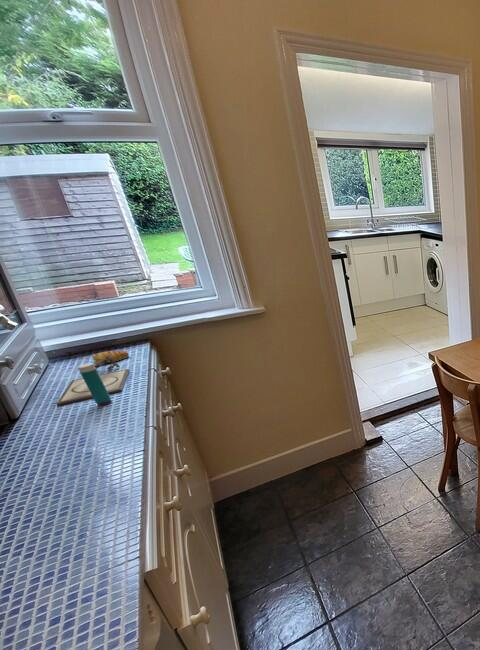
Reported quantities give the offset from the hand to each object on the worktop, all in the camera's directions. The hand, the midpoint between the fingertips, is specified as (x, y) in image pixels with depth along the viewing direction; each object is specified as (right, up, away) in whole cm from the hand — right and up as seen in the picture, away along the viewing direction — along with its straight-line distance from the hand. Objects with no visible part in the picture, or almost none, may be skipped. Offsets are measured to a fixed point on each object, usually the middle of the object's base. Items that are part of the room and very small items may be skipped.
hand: (5, 332), depth 104 cm
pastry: (-16, -7, +44) cm, 47 cm away
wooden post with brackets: (-11, -10, +36) cm, 39 cm away
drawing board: (-1, -15, +24) cm, 28 cm away
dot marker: (+12, -19, +13) cm, 26 cm away
